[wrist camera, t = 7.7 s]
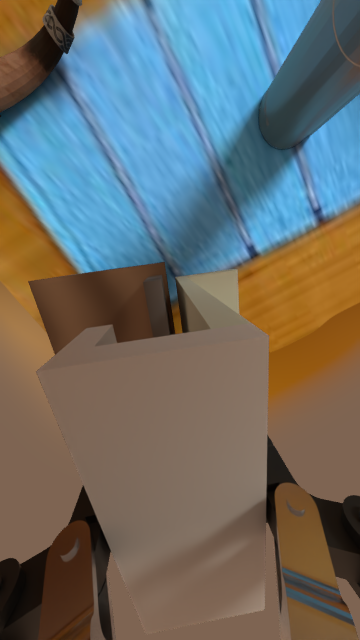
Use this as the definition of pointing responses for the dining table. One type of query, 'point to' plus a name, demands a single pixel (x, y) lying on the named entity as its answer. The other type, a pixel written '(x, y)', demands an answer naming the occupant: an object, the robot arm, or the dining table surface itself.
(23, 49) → the drinking horn
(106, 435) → the white angled bracket
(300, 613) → the robot arm
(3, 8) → the dining table surface
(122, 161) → the dining table surface
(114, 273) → the cabinet
